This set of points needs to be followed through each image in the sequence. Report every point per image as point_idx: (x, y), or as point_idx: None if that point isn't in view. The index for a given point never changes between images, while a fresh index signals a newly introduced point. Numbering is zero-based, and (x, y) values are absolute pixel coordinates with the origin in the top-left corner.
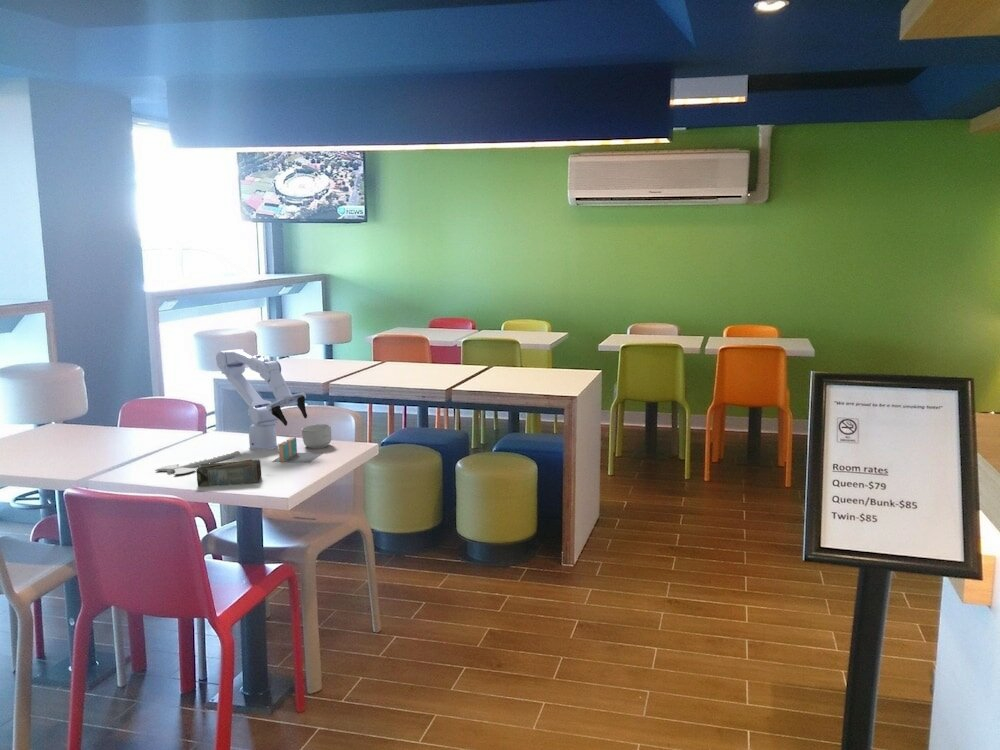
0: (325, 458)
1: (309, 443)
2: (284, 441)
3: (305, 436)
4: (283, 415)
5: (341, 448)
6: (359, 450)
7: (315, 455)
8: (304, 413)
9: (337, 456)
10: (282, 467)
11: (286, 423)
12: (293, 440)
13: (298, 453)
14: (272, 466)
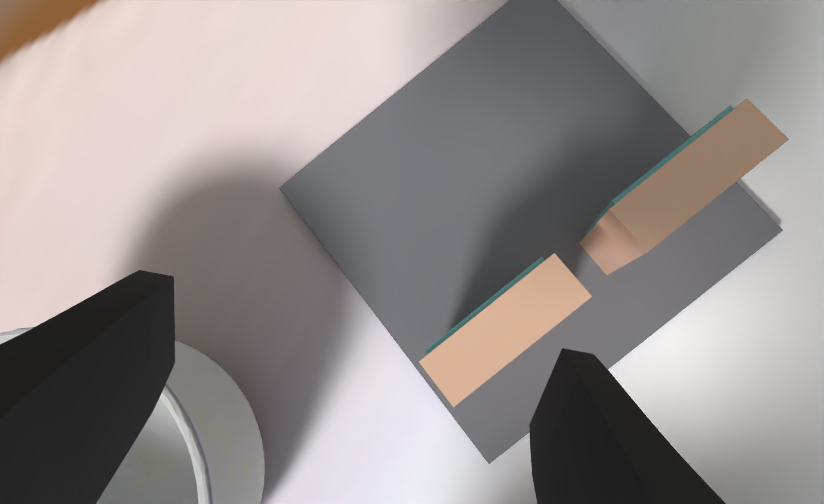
0: (351, 57)
1: (252, 417)
2: (647, 244)
3: (236, 478)
4: (636, 462)
5: (78, 262)
6: (41, 102)
7: (370, 161)
8: (144, 298)
9: (254, 50)
10: (763, 28)
11: (578, 357)
12: (493, 296)
13: (432, 338)
14: (819, 117)
